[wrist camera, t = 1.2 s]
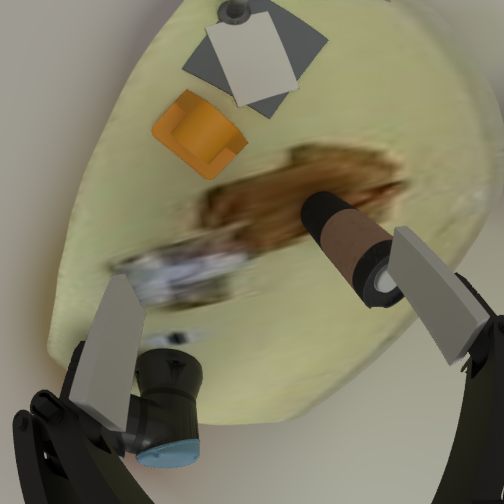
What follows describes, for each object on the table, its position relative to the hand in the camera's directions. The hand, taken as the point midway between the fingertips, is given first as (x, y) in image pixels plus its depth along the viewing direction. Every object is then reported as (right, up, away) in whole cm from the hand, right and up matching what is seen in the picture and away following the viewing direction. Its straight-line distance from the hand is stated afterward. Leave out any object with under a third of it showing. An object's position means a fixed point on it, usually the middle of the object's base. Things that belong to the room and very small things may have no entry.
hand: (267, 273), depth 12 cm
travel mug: (+10, +7, +30) cm, 33 cm away
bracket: (-8, +17, +22) cm, 29 cm away
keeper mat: (0, +28, +17) cm, 33 cm away
